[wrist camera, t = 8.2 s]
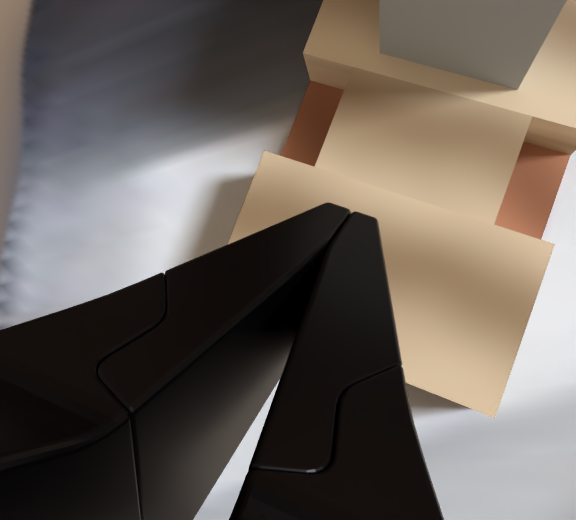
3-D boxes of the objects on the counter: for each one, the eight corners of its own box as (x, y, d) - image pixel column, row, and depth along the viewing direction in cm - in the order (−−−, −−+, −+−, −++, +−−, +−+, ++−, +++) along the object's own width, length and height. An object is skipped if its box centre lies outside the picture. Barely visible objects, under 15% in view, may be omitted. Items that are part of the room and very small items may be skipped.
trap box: (480, 408, 20) (539, 450, 12) (224, 306, 22) (144, 291, 14) (621, 1, 21) (752, -181, 13) (365, -56, 23) (358, -240, 16)
